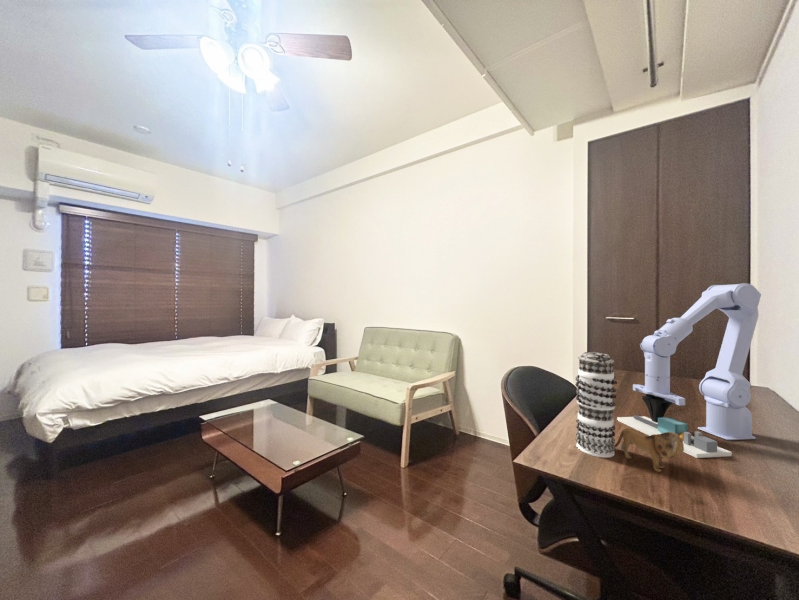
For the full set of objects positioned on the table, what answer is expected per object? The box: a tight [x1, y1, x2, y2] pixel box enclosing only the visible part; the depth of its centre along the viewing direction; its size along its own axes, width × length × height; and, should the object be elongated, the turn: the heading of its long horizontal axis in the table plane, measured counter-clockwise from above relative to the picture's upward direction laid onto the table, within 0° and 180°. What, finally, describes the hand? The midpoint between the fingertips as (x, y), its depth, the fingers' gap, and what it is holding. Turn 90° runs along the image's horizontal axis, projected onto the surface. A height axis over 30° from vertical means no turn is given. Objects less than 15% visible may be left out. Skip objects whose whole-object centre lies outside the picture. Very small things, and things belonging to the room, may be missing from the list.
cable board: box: [616, 414, 733, 459], centre depth 88 cm, size 10×24×4 cm, turn 7°
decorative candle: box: [574, 351, 618, 458], centre depth 80 cm, size 9×9×25 cm
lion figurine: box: [614, 428, 684, 473], centre depth 74 cm, size 15×5×9 cm, turn 32°
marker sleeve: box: [658, 416, 689, 434], centre depth 87 cm, size 4×5×4 cm
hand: (656, 421), depth 91 cm, fingers closed
